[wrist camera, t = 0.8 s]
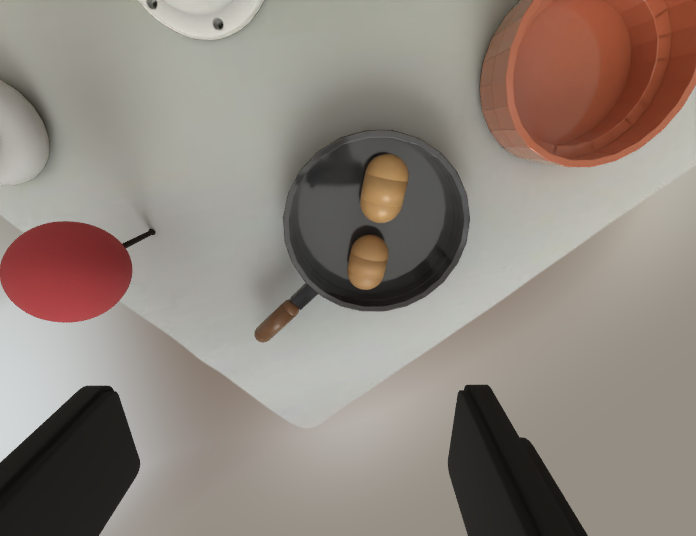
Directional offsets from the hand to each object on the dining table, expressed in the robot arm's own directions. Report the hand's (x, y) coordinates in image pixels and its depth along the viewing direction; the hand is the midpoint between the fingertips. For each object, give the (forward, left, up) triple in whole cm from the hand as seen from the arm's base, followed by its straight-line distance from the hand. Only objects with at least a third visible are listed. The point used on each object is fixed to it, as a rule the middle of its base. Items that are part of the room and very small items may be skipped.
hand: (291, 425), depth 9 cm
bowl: (-7, +24, -28) cm, 38 cm away
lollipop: (-3, -20, -28) cm, 35 cm away
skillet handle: (+9, -8, -26) cm, 29 cm away
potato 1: (-1, +6, -28) cm, 28 cm away
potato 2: (+6, +2, -28) cm, 28 cm away
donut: (-16, -29, -28) cm, 43 cm away
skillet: (+2, +4, -28) cm, 29 cm away
